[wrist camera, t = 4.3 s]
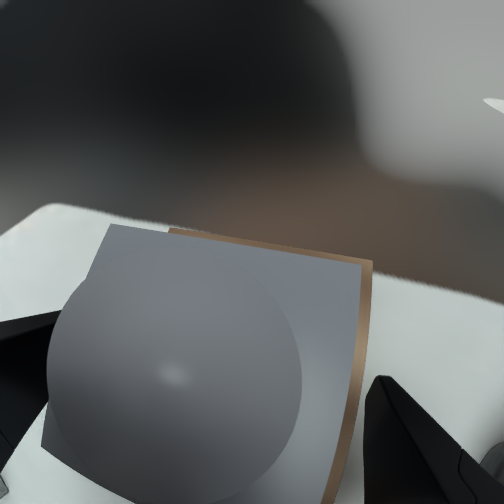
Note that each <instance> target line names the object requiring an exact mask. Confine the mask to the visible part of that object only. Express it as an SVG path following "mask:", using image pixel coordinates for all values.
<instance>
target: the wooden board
mask: <svg viewBox="0 0 504 504" xmlns="http://www.w3.org/2000/svg"><path fill="white" fill-rule="evenodd" d="M168 233H173V234H179V235H185V236H191V237H197V238H203V239H210V240H216V241H222V242H228V243H234V244H240V245H246V246H252V247H258V248H264V249H270V250H276V251H282V252H288V253H294V254H300V255H306V256H312V257H318V258H324V259H330V260H336V261H342V262H347V263H353V264H359V265H362V271H361V288H360V302H359V314H358V324H357V333H356V342H355V350H354V357H353V364H352V371H351V378H350V384H349V390H348V395H347V401H346V406H345V411H344V416H343V421H342V426H341V430H340V435H339V439H338V443H337V447H336V451H335V455H334V459H333V463H332V467H331V470H330V474H329V477H328V481H327V484H326V487H325V491H324V494H323V497H322V500H321V503H320V504H333V503H334V500H335V497H336V494H337V491H338V487H339V484H340V481H341V477H342V474H343V470H344V467H345V463H346V459H347V455H348V451H349V447H350V443H351V439H352V434H353V430H354V425H355V420H356V415H357V410H358V405H359V399H360V394H361V387H362V381H363V374H364V367H365V360H366V352H367V343H368V333H369V322H370V310H371V294H372V269H373V261H371V260H365V259H360V258H354V257H348V256H342V255H336V254H330V253H324V252H319V251H313V250H307V249H301V248H295V247H289V246H283V245H277V244H271V243H265V242H259V241H253V240H246V239H240V238H234V237H228V236H221V235H215V234H209V233H202V232H196V231H189V230H183V229H177V228H169V231H168Z"/></svg>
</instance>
